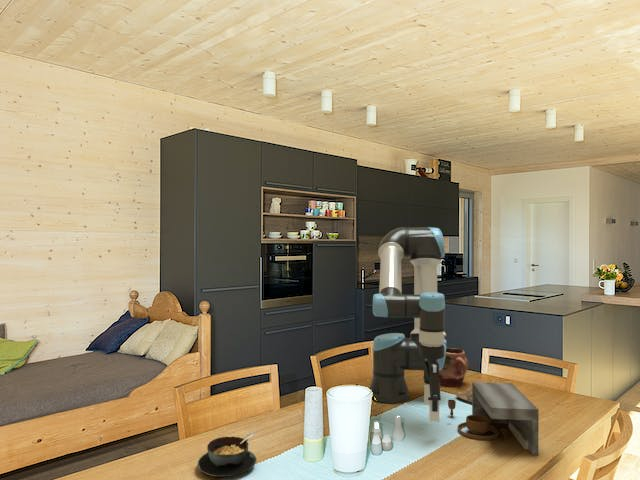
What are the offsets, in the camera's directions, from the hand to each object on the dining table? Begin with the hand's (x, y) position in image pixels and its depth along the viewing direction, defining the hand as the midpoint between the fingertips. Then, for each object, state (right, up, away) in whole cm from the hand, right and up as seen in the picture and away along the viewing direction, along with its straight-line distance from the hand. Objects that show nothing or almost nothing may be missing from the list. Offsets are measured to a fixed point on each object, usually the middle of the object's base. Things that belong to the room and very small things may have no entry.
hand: (431, 412), depth 155 cm
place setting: (+14, -6, +3) cm, 16 cm away
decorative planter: (+20, -6, +50) cm, 54 cm away
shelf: (+20, -6, -5) cm, 21 cm away
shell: (+19, -6, +25) cm, 32 cm away
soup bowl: (-58, -6, -24) cm, 63 cm away
